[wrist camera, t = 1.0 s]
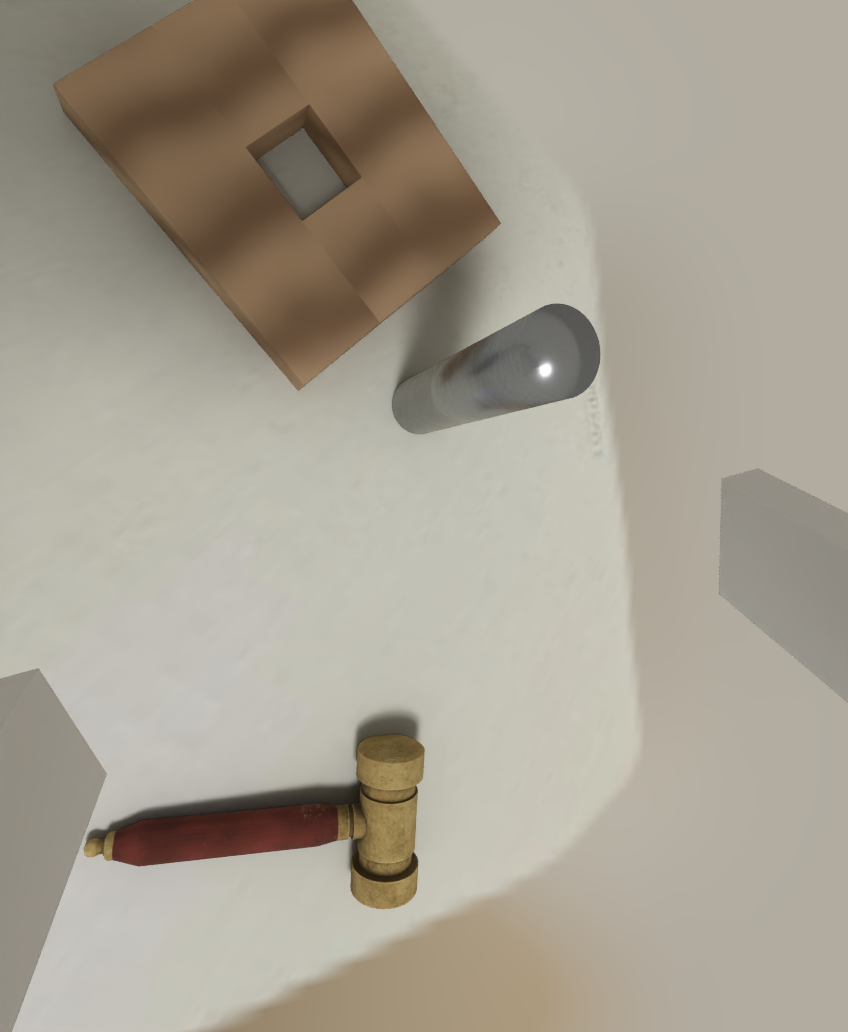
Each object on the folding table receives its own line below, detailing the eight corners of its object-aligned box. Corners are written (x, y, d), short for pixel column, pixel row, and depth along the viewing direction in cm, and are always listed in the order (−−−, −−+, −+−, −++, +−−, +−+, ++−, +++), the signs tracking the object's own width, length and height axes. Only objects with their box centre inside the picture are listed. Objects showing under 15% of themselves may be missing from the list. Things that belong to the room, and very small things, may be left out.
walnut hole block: (63, 111, 34) (52, 83, 32) (301, -33, 38) (307, -67, 36) (298, 390, 39) (304, 384, 37) (485, 237, 43) (501, 223, 41)
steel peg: (380, 401, 41) (501, 341, 24) (421, 365, 42) (565, 284, 25) (416, 445, 42) (556, 418, 25) (455, 410, 43) (615, 361, 26)
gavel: (69, 958, 33) (75, 784, 33) (90, 904, 38) (96, 750, 38) (424, 906, 39) (433, 758, 39) (407, 864, 44) (414, 730, 43)
